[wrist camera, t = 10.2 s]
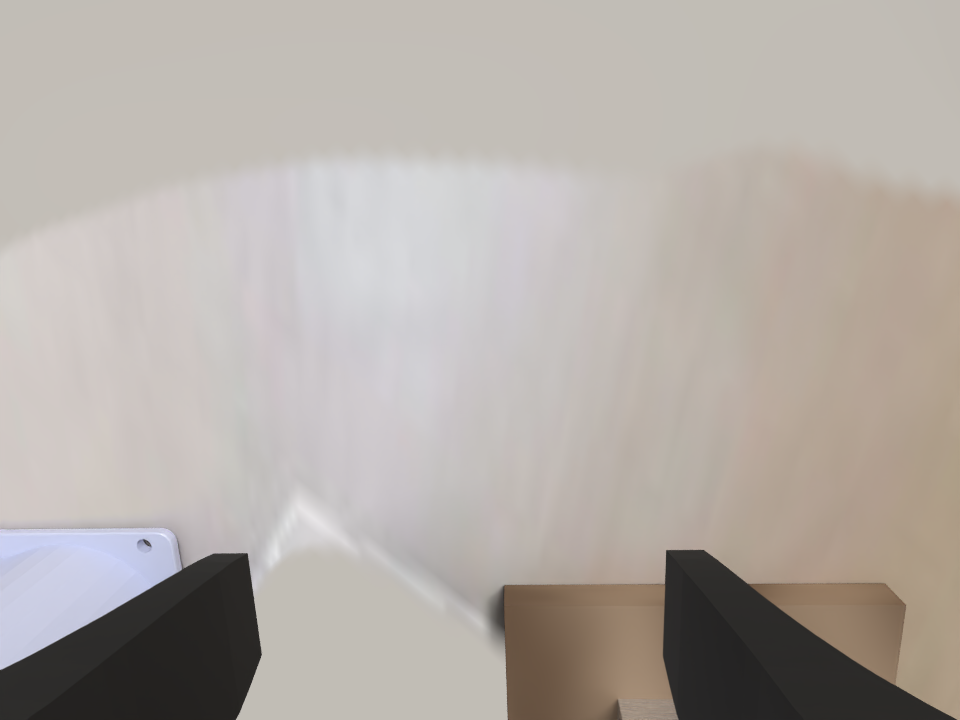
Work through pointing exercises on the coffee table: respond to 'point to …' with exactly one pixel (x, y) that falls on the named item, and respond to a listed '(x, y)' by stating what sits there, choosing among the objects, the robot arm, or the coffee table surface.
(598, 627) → the brown peg base
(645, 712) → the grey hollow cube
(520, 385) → the coffee table surface
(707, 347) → the coffee table surface
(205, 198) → the coffee table surface
